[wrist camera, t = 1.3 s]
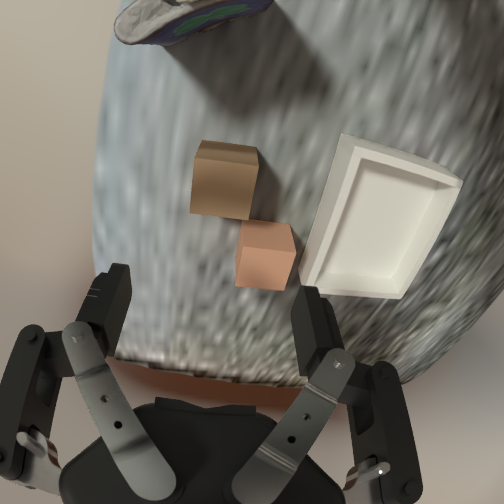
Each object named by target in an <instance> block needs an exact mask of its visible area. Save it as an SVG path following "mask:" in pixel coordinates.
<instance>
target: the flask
mask: <svg viewBox="0 0 504 504" xmlns="http://www.w3.org/2000/svg"><path fill="white" fill-rule="evenodd" d="M273 1H274V0H136V1H135V2H133V3H132V4H131V5H130V6H128V7H127V8H125V9H124V10H123V12H122V13H121V14H120V15H119V16H118V17H117V18H116V20H115V23H114V32H115V36H116V38H117V39H118V40H119V41H121V42H122V43H124V44H128V45H135V44H150V45H153V44H156V45H161V46H171V45H174V44H176V43H179V42H183V41H185V40H187V38H188V37H189V36H191V35H194V34H196V33H200V32H205V31H207V30H212V29H213V28H216V27H217V26H219V25H220V24H221V23H222V22H224V21H228V20H229V21H231V22H232V21H233V20H234V19H236V18H238V17H247V16H251V15H256V14H259V13H263V12H265V11H266V10H267V8H268V7H269V6H270V4H272V2H273Z"/></svg>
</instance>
